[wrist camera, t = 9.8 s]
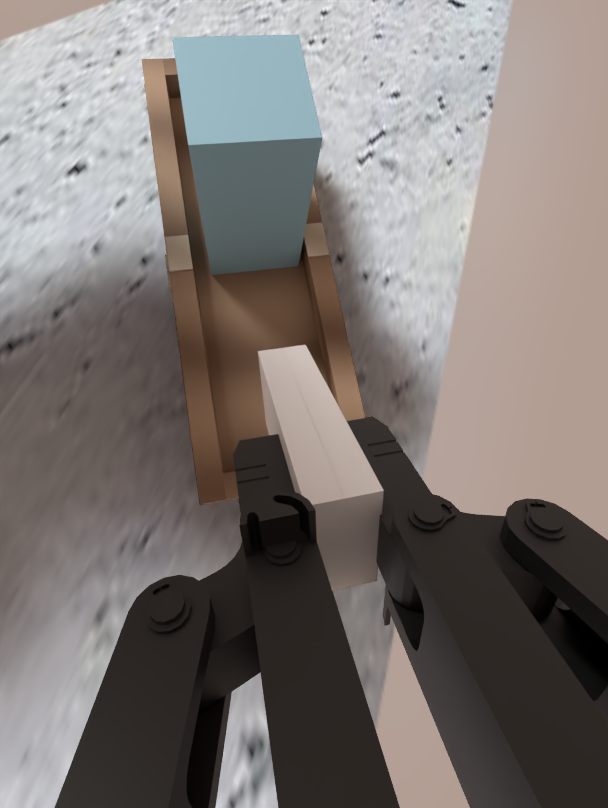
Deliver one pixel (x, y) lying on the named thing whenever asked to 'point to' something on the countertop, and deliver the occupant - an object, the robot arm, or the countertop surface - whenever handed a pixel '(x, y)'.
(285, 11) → the countertop surface
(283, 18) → the countertop surface
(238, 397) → the long brown tray
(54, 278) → the countertop surface
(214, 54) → the block
